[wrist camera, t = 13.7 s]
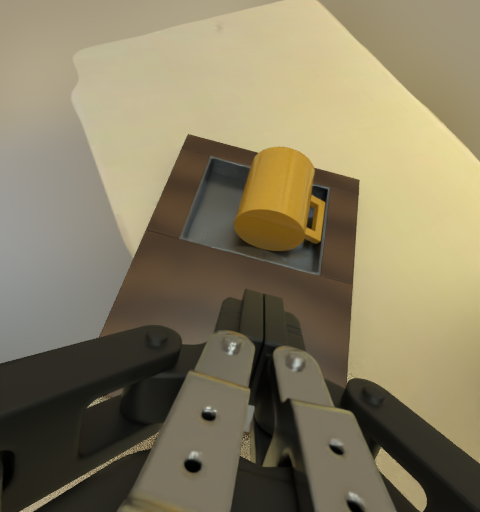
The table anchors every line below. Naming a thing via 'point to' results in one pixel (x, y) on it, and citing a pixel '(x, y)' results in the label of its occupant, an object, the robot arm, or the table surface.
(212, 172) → the sink
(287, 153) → the mug
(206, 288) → the counter
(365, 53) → the table surface
